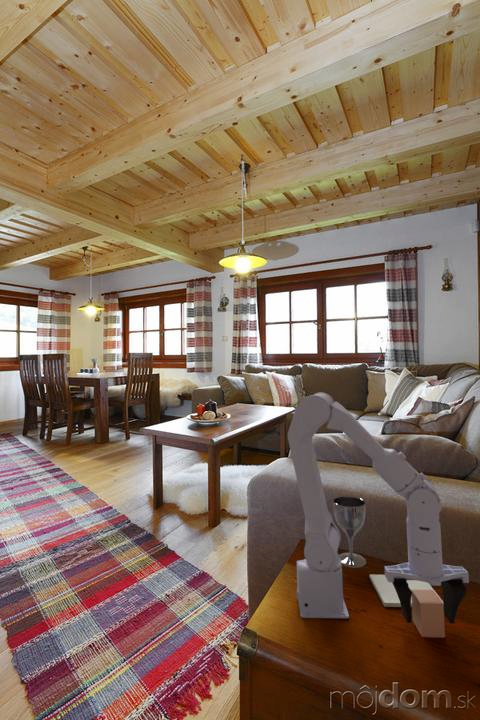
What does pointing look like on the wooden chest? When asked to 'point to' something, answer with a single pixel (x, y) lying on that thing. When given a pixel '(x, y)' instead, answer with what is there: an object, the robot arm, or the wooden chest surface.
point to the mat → (389, 592)
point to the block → (428, 613)
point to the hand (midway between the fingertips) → (428, 619)
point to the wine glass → (350, 525)
